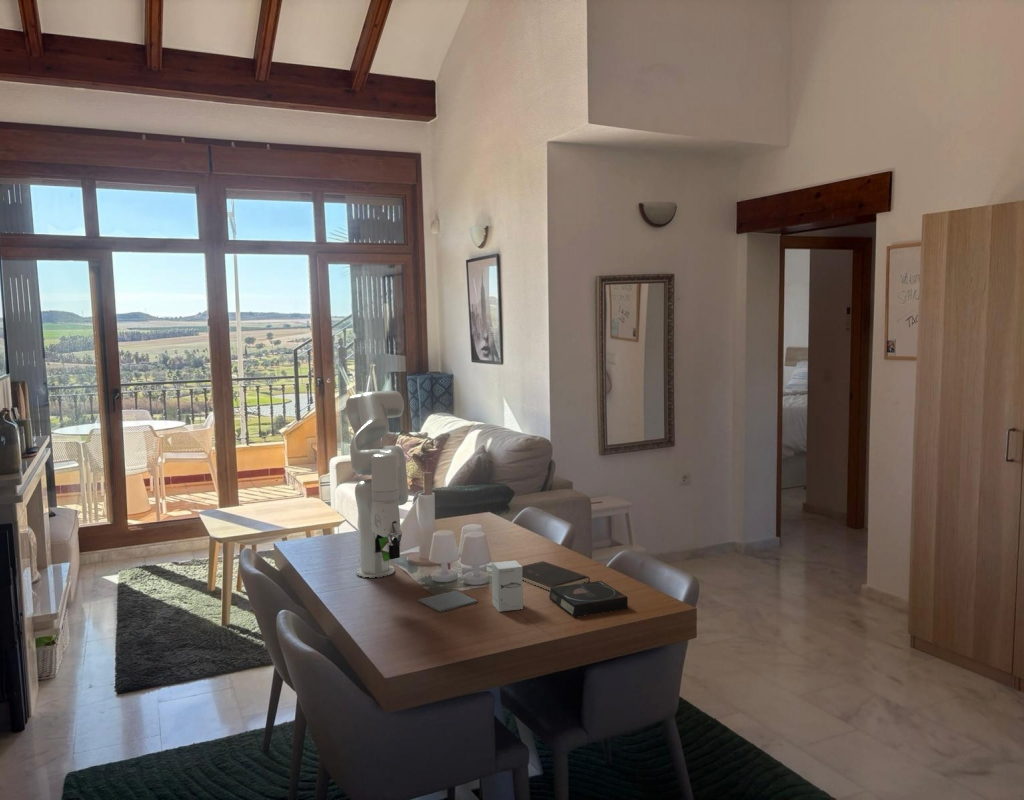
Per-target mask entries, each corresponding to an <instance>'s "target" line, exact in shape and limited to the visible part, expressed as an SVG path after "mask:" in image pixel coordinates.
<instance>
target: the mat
mask: <svg viewBox="0 0 1024 800" xmlns="http://www.w3.org/2000/svg"><path fill="white" fill-rule="evenodd" d="M418 601H420V602H421V604H422V603H423V604H422V605H424V604H425V606H426V605H427V607H428V606H429V607H428V608H430V607H431V609H432V608H433V609H432V610H434V609H435V610H434V611H436V610H437V612H438V611H439V612H438V613H441V612H442V611H443V612H445V610H446V611H450V610H454V609H459V608H461V606H462V607H465V605H466V606H470V605H473V604H477V603H478V600H477V599H475V598H473V597H471V596H468V595H466V594H464V593H461V592H459V591H457V590H452V591H449V592H445V593H441V594H435V595H432V596H427V597H423V598H419V599H418ZM418 601H417V602H418ZM420 602H419V603H420ZM476 602H477V603H476ZM469 604H470V605H469Z"/></svg>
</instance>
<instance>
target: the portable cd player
mask: <svg viewBox="0 0 1024 800" xmlns="http://www.w3.org/2000/svg"><path fill="white" fill-rule="evenodd" d="M548 598H549V600H550V601H551V600H552V603H554V604H555V603H556V604H555V605H557V606H558V607H559V606H560V607H559V608H561V609H562V610H563V609H564V610H563V611H565V612H566V613H567V614H568V615H570V616H571V615H572V616H571V617H573V618H574V617H575V618H579V617H578V616H581V617H585V616H584V615H587V616H591V615H590V614H594V615H598V614H597V613H600V614H603V613H602V612H606V613H611V612H610V611H612V612H616V611H615V610H619V611H623V610H622V609H625V610H629V609H628V607H629V606H628V600H629V599H628V596H627V595H625V594H624V593H622V592H620V591H619V590H618V589H615V588H614V587H612V586H610V585H609V584H608V583H605V582H604V581H603V580H596V581H590V582H585V583H581V584H574V585H567V586H560V587H553V588H551V590H550V591H549V595H548Z"/></svg>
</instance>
